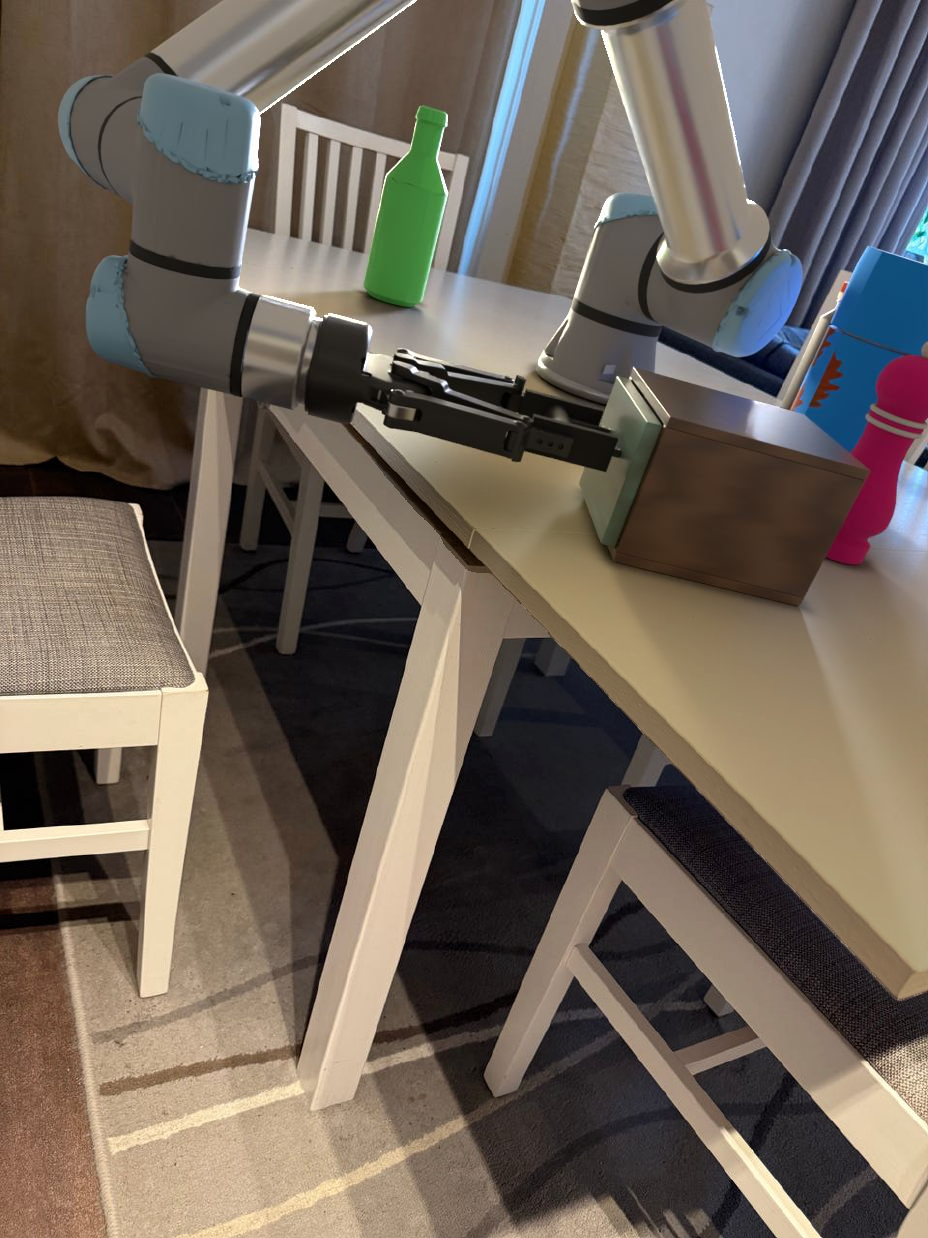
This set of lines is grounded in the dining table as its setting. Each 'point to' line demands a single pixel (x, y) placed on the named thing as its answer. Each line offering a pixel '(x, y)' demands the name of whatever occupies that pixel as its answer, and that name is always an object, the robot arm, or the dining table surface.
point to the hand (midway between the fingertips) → (603, 439)
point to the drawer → (617, 457)
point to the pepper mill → (884, 452)
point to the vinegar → (810, 354)
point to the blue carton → (865, 343)
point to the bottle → (409, 217)
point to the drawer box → (736, 492)
